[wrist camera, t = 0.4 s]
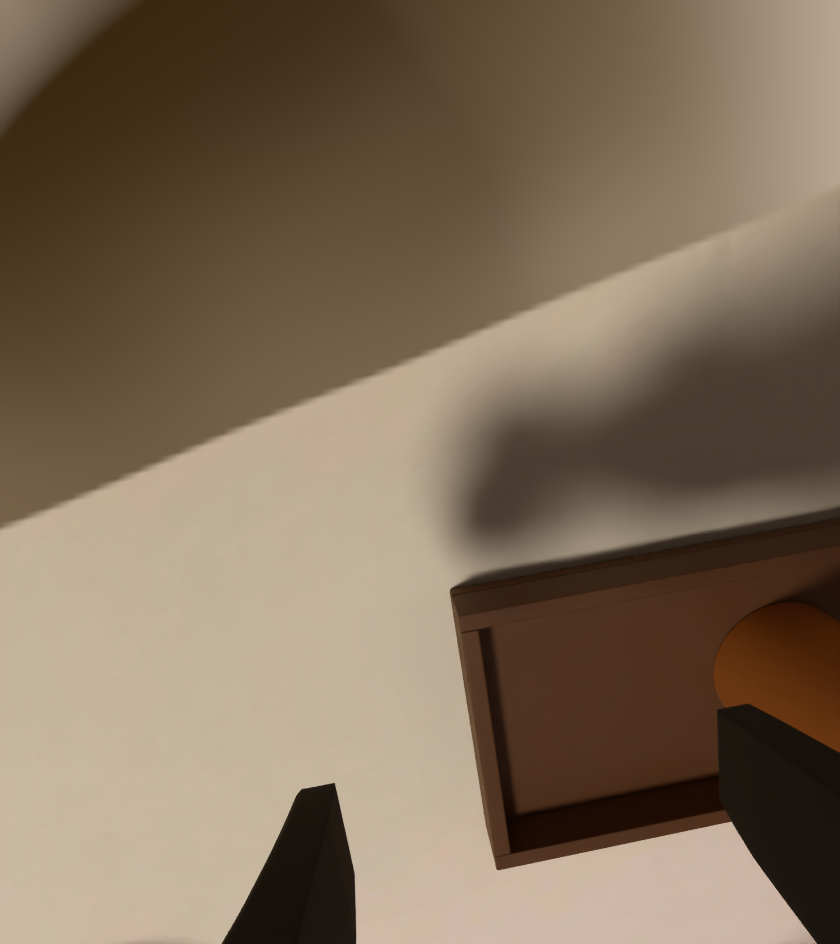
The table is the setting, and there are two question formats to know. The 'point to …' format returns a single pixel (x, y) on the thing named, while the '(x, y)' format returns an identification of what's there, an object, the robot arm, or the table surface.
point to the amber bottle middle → (785, 668)
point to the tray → (617, 686)
